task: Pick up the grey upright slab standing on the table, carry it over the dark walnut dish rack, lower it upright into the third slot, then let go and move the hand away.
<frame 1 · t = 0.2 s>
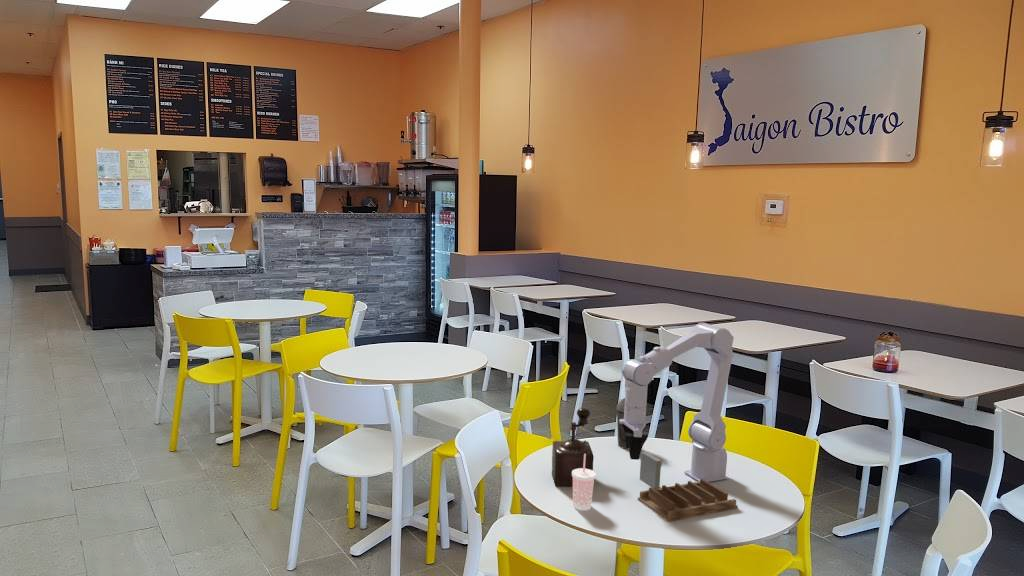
hand: (632, 453, 193), 10 cm above the table, tool pointing down, fingers open, 7 cm apart
beverage cup: (625, 446, 227), on the table
beverage cup 2: (581, 507, 182), on the table
coffee grinder: (571, 476, 201), on the table
dish rack: (687, 503, 186), on the table
grey upright slab: (649, 483, 198), on the table
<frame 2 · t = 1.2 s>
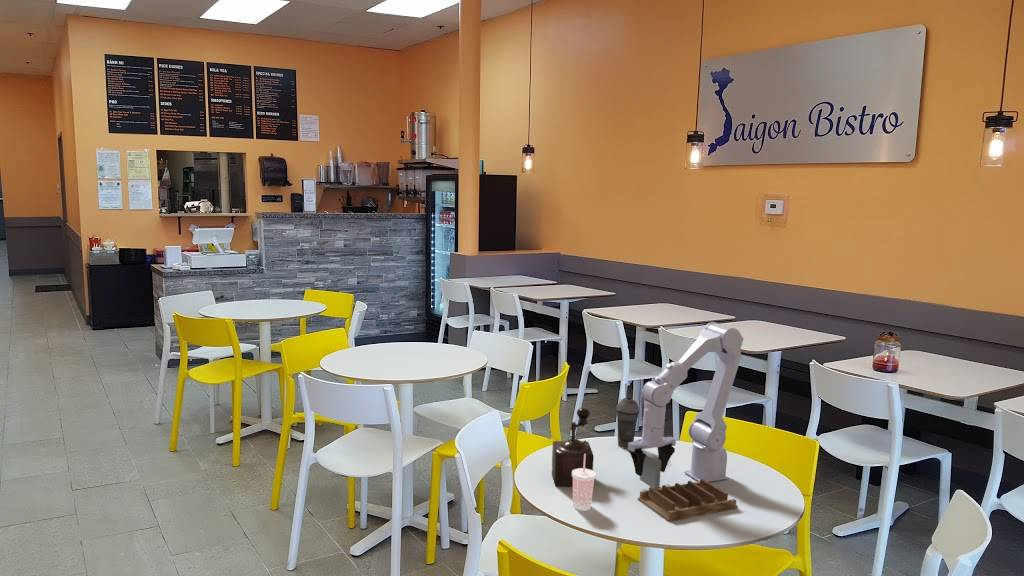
hand: (650, 472, 198), 3 cm above the table, tool pointing down, fingers open, 7 cm apart
nothing on the table moved.
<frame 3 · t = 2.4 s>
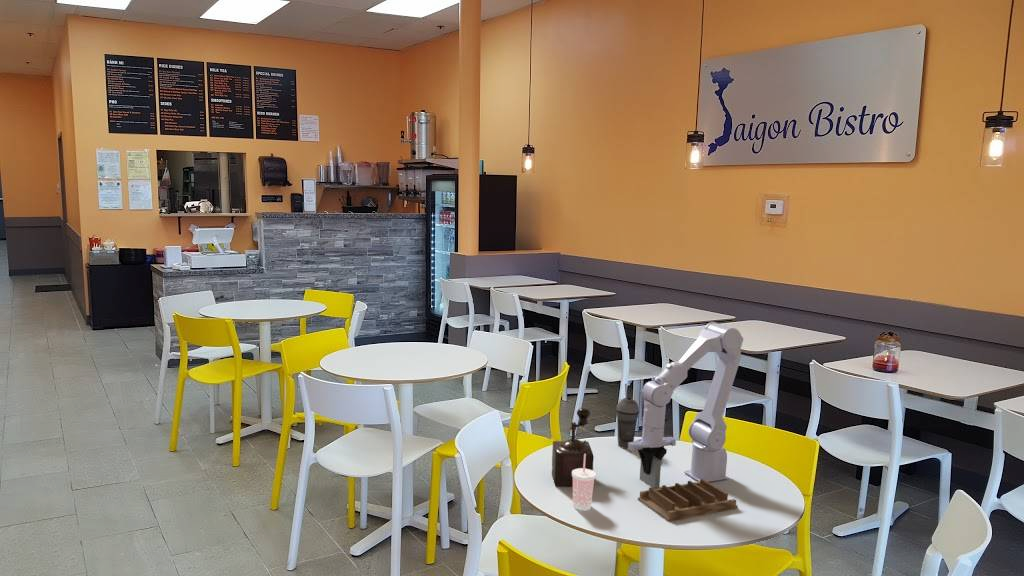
hand: (650, 472, 198), 3 cm above the table, tool pointing down, fingers closed on grey upright slab, 2 cm apart
grey upright slab: (649, 483, 198), on the table, touching gripper
everything else where it was.
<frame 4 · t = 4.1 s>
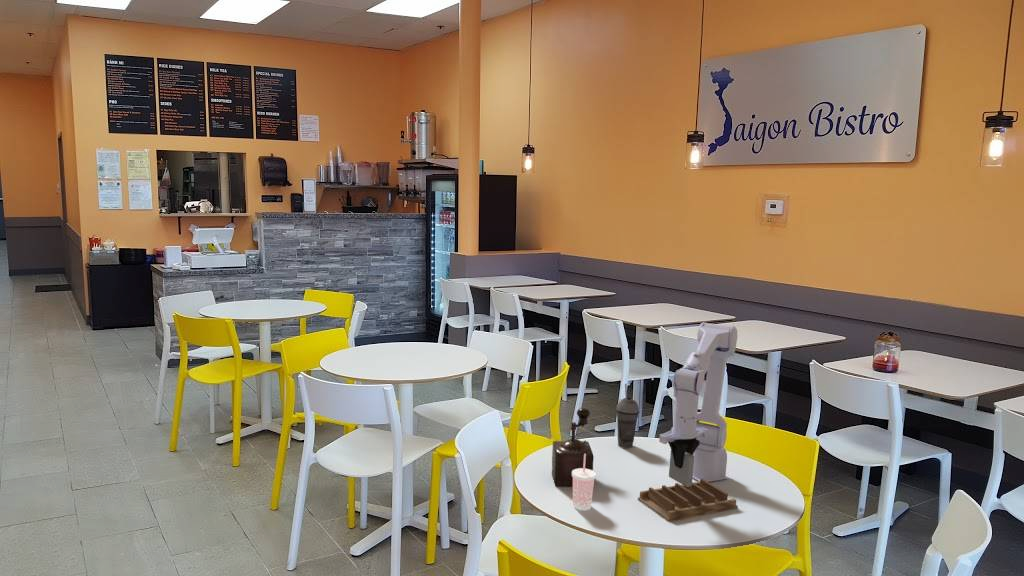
hand: (681, 466, 185), 10 cm above the table, tool pointing down, fingers closed on grey upright slab
grey upright slab: (680, 481, 185), point 6 cm above the table, touching gripper
everything else where it was.
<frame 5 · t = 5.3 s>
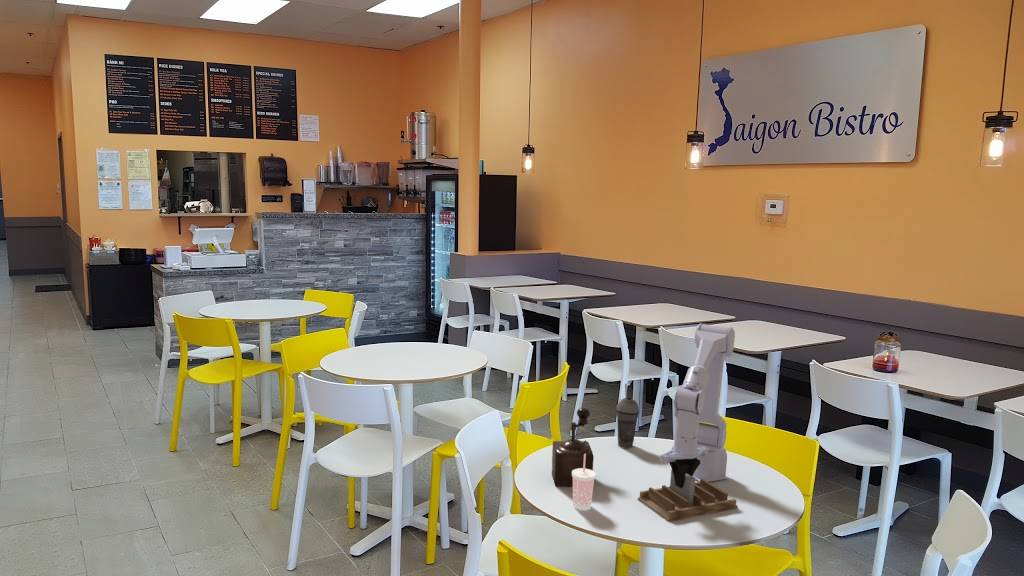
hand: (682, 485, 185), 5 cm above the table, tool pointing down, fingers closed on grey upright slab, 2 cm apart
grey upright slab: (680, 502, 186), point 1 cm above the table, touching dish rack, gripper
everything else where it was.
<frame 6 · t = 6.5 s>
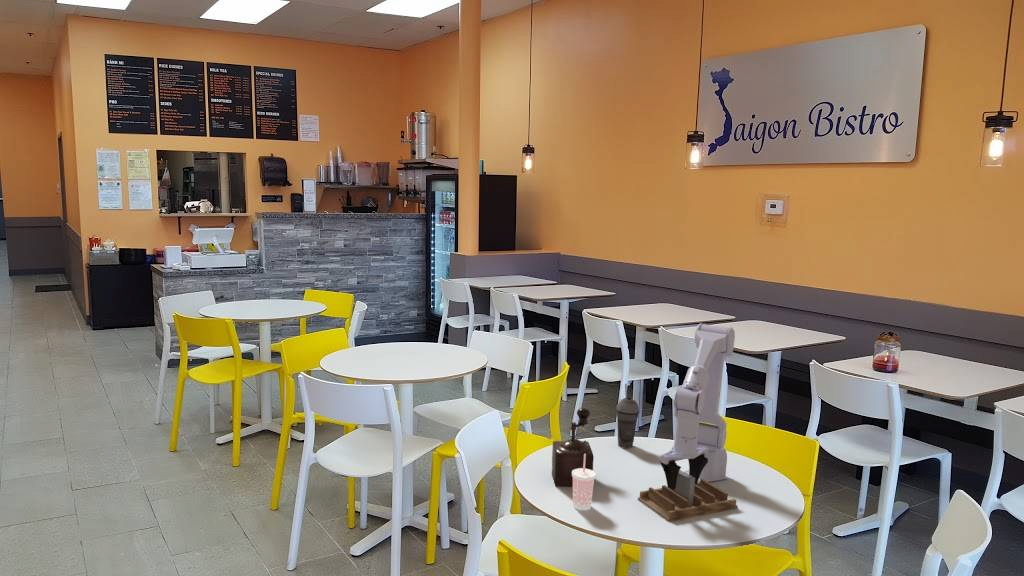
hand: (682, 485, 185), 5 cm above the table, tool pointing down, fingers open, 7 cm apart
grey upright slab: (680, 502, 186), point 1 cm above the table, touching dish rack
everything else where it was.
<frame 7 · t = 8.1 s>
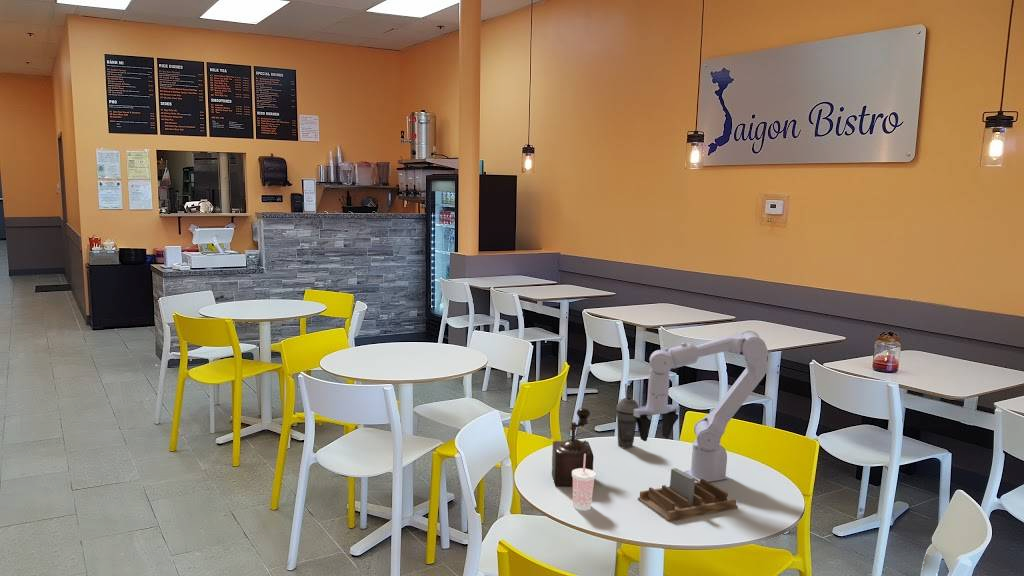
hand: (654, 438, 205), 10 cm above the table, tool pointing down, fingers open, 7 cm apart
nothing on the table moved.
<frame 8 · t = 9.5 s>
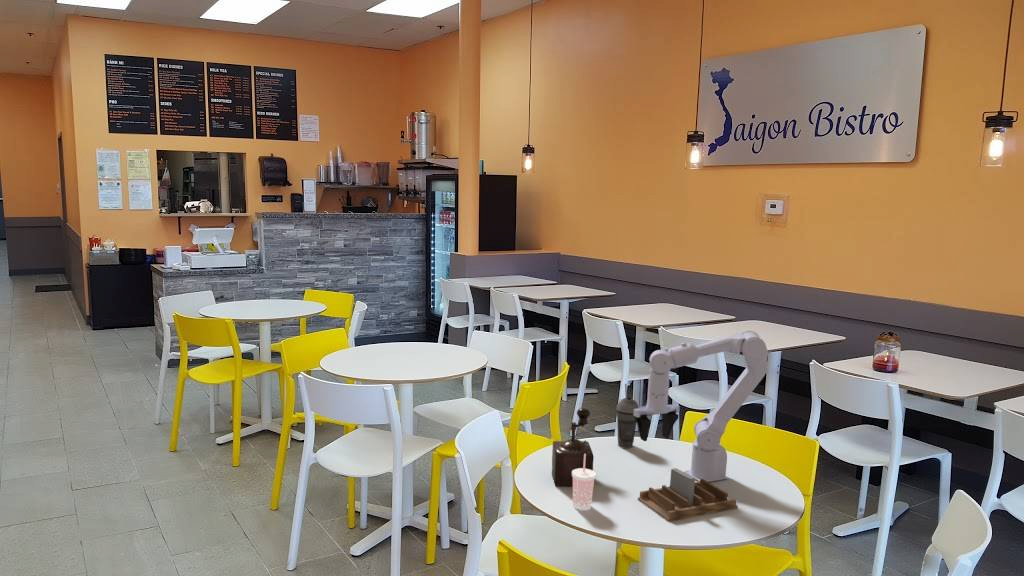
hand: (654, 438, 206), 10 cm above the table, tool pointing down, fingers open, 7 cm apart
nothing on the table moved.
at the end: grey upright slab 0.1 cm from the target spot on the dish rack, point 0.6 cm above the dish rack's base; grey upright slab tilted 0°; the gripper is holding nothing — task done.
